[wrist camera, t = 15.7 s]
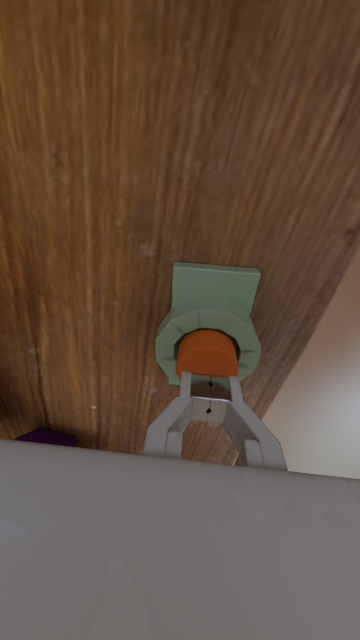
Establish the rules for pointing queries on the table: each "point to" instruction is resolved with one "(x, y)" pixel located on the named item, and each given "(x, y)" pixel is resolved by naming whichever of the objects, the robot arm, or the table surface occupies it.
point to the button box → (210, 313)
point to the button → (207, 354)
